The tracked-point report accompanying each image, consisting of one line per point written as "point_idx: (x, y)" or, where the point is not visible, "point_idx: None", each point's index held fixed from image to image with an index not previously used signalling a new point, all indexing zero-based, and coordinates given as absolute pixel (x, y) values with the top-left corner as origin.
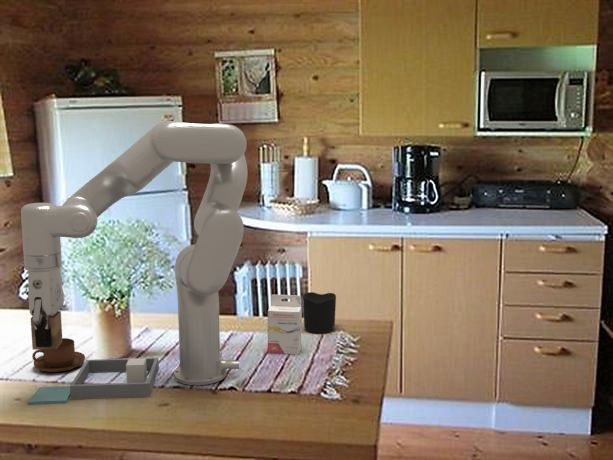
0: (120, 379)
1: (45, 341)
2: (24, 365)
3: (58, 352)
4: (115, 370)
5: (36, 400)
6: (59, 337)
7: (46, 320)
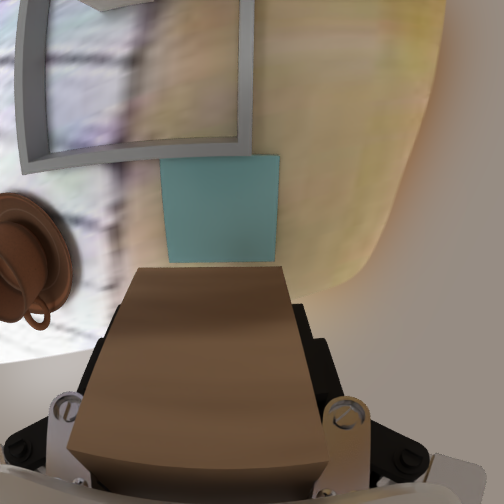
0: (100, 37)
1: (326, 347)
2: None
3: (24, 270)
4: (42, 77)
5: (268, 242)
6: (195, 295)
7: (367, 467)
